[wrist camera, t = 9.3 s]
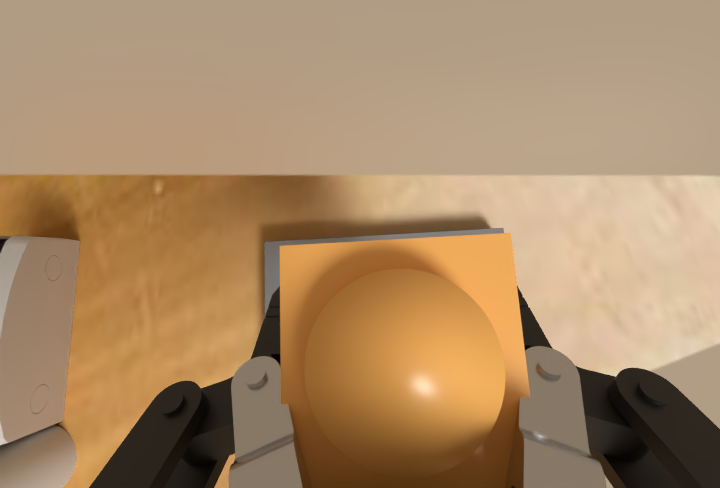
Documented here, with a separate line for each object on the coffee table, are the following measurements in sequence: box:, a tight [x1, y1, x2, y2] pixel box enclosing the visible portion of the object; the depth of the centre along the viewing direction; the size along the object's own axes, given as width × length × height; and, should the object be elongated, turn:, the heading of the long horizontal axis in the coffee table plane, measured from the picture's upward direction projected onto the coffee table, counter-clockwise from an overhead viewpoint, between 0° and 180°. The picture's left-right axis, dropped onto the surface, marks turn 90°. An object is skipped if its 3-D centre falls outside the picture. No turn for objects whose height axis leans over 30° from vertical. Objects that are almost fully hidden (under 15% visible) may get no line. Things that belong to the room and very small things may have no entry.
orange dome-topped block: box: [280, 233, 530, 488], centre depth 11 cm, size 6×6×10 cm
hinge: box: [0, 236, 80, 445], centre depth 25 cm, size 17×5×10 cm, turn 2°
